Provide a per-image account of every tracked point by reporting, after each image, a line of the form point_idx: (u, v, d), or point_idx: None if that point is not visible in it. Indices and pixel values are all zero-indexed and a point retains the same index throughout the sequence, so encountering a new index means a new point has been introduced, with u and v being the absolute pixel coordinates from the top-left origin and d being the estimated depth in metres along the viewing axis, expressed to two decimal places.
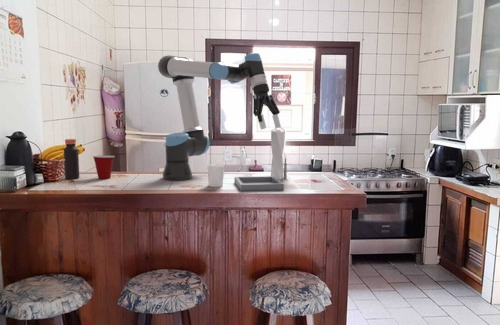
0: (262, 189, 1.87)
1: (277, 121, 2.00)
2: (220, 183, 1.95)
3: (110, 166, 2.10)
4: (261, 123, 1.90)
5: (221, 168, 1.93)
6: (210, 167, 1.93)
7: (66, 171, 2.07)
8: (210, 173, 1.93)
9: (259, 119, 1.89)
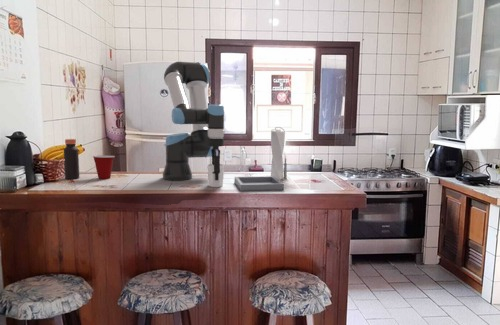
0: (262, 189, 1.87)
1: None
2: (220, 183, 1.95)
3: (110, 166, 2.10)
4: (216, 181, 1.92)
5: (221, 168, 1.93)
6: (210, 167, 1.93)
7: (66, 171, 2.07)
8: (210, 173, 1.93)
9: (216, 178, 1.91)
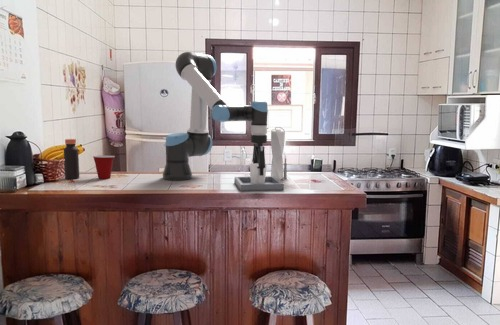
0: (262, 189, 1.87)
1: None
2: (263, 183, 1.94)
3: (110, 166, 2.10)
4: (260, 176, 1.89)
5: (264, 168, 1.93)
6: (253, 166, 1.92)
7: (66, 171, 2.07)
8: (253, 172, 1.93)
9: (261, 173, 1.88)
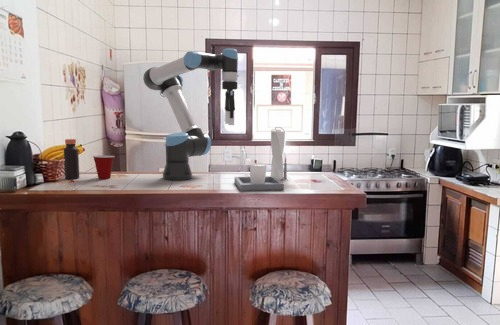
0: (262, 189, 1.87)
1: None
2: (263, 183, 1.94)
3: (110, 166, 2.10)
4: (231, 119, 1.99)
5: (264, 168, 1.93)
6: (253, 166, 1.92)
7: (66, 171, 2.07)
8: (253, 172, 1.93)
9: (231, 115, 1.97)
